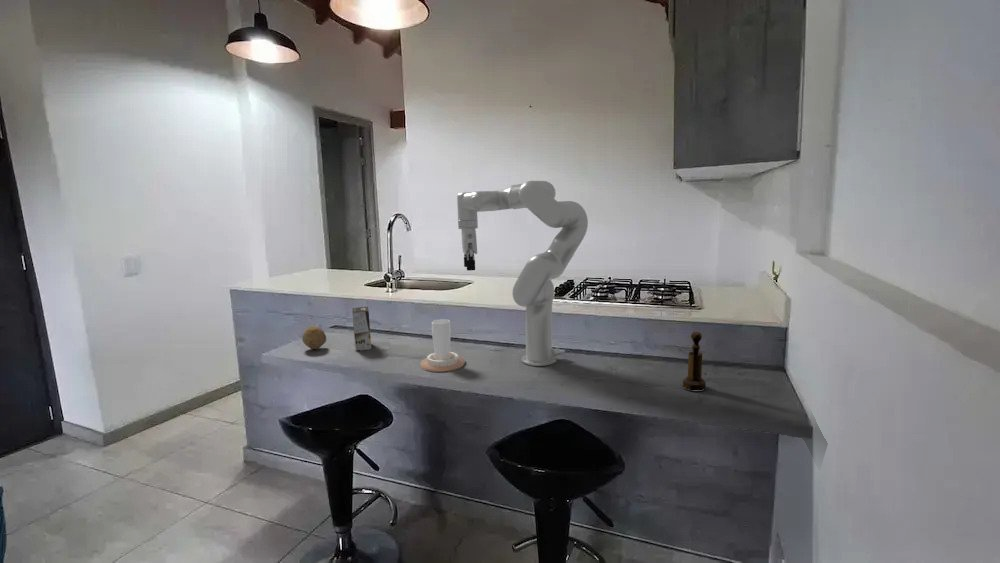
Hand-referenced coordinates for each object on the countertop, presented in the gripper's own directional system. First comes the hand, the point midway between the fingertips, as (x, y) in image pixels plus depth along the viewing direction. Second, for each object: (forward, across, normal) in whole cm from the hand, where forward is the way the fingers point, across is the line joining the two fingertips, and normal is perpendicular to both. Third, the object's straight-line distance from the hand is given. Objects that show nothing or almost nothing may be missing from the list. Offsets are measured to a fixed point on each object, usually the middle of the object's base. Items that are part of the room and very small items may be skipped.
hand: (469, 268), depth 189 cm
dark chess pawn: (+32, -58, -62) cm, 91 cm away
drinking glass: (+32, -17, +13) cm, 38 cm away
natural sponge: (+32, +14, +64) cm, 73 cm away
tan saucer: (+32, -17, +13) cm, 39 cm away
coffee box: (+32, +12, +44) cm, 56 cm away
